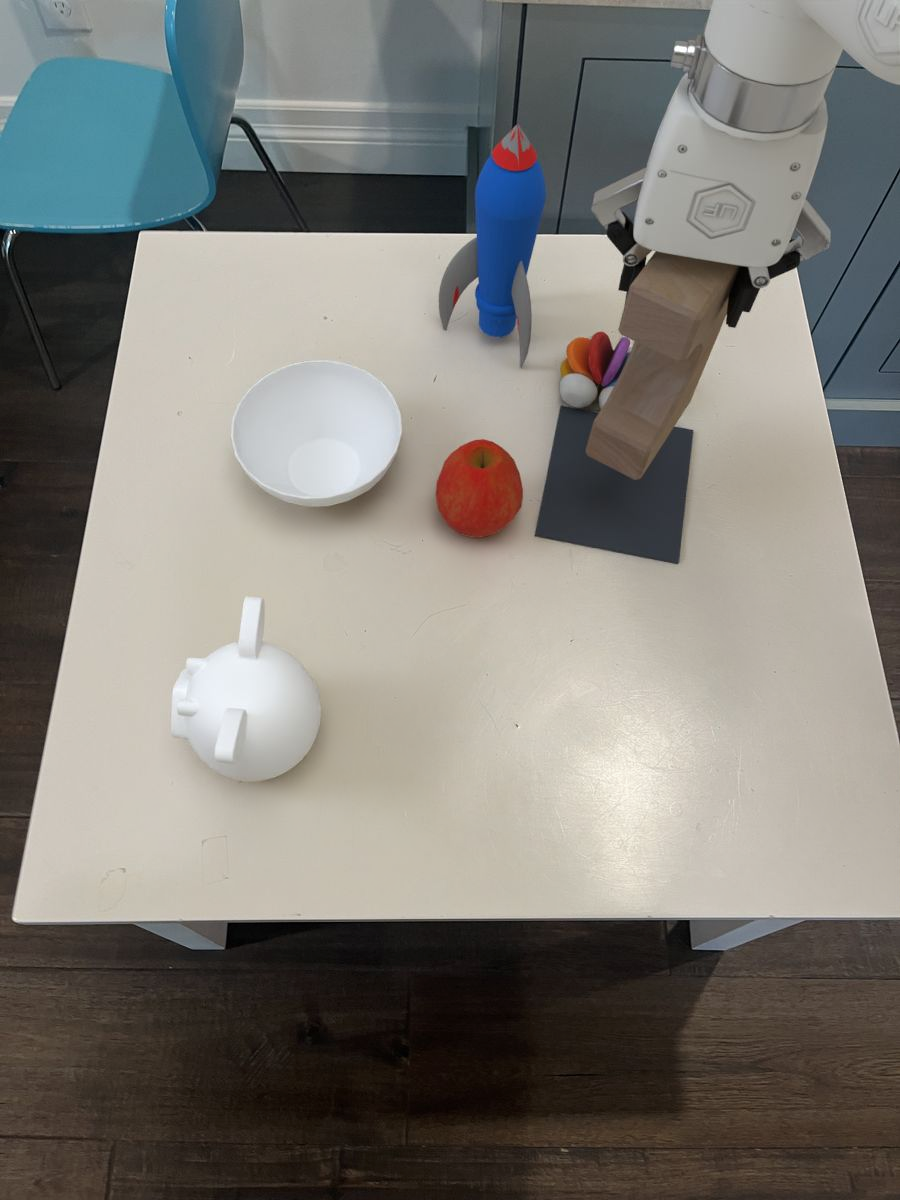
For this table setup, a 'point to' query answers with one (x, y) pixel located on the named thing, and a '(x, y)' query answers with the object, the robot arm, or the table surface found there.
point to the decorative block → (660, 357)
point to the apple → (479, 489)
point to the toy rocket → (501, 242)
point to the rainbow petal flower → (592, 369)
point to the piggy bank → (247, 704)
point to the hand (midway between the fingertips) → (681, 303)
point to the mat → (614, 494)
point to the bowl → (317, 432)
